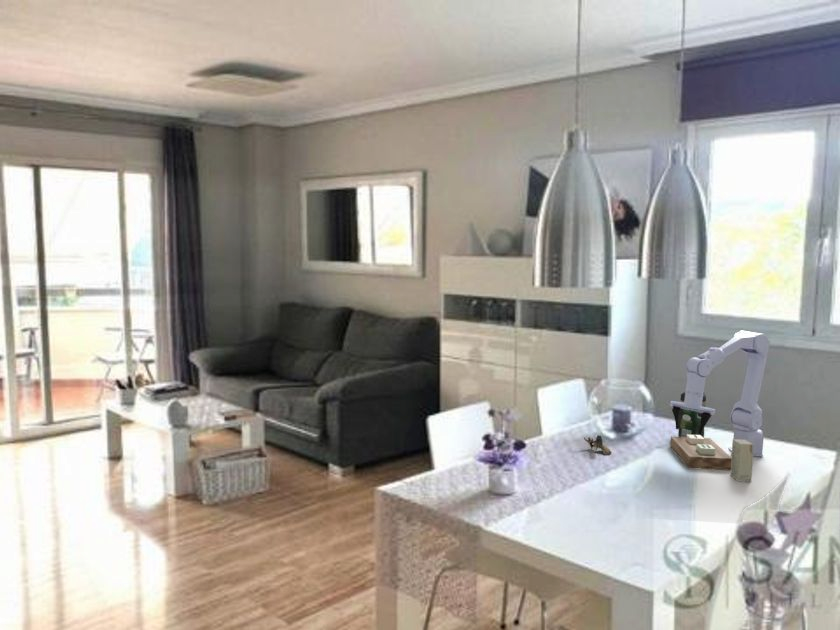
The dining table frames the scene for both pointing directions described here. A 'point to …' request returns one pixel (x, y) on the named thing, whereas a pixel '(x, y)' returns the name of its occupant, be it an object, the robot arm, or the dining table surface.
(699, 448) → the sage button
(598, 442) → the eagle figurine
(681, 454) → the board
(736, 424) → the robot arm
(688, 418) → the coffee jar
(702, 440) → the cream button
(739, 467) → the skincare box
